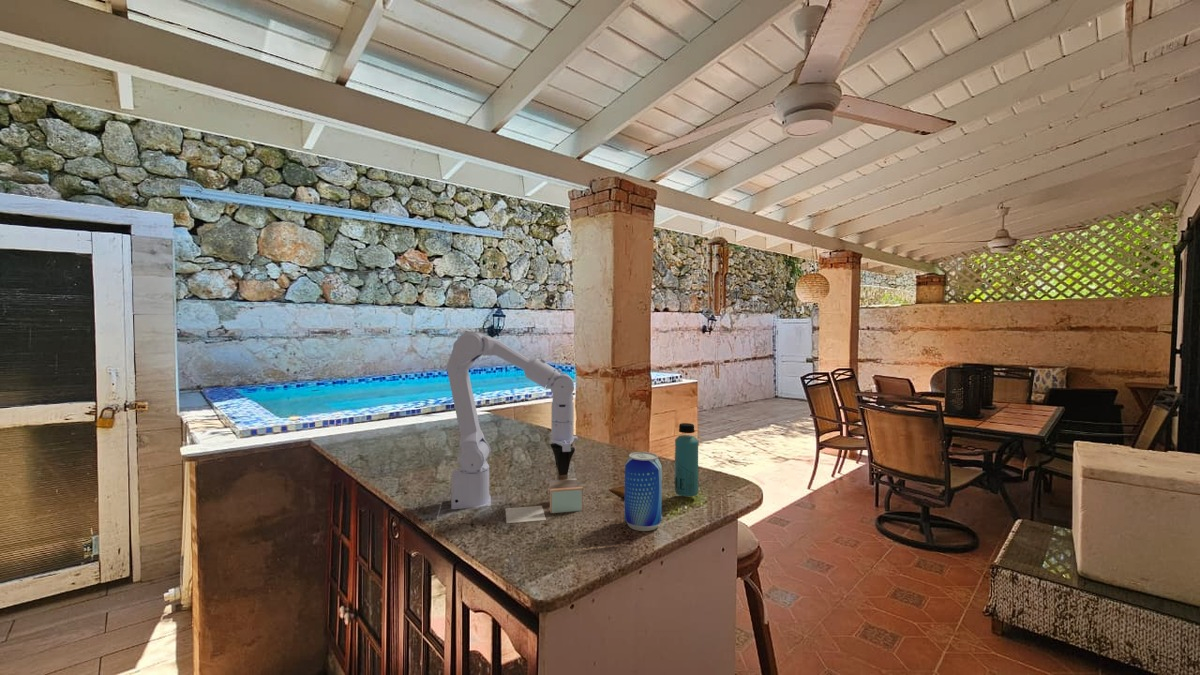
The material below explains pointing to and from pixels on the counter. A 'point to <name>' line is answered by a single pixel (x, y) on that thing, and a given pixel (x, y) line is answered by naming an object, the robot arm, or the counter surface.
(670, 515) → the counter surface
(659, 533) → the counter surface
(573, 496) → the tile
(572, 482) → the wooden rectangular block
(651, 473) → the beer can
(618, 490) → the primitive tool
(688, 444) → the beverage bottle
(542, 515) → the mat
